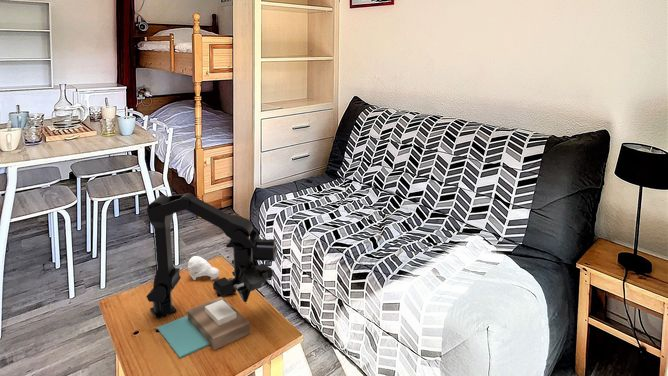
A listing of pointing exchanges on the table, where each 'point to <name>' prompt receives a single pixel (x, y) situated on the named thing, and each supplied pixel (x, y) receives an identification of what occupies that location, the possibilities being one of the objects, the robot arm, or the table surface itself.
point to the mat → (183, 336)
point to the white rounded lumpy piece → (201, 268)
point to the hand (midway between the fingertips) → (244, 301)
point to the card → (220, 312)
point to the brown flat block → (215, 332)
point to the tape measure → (233, 288)
